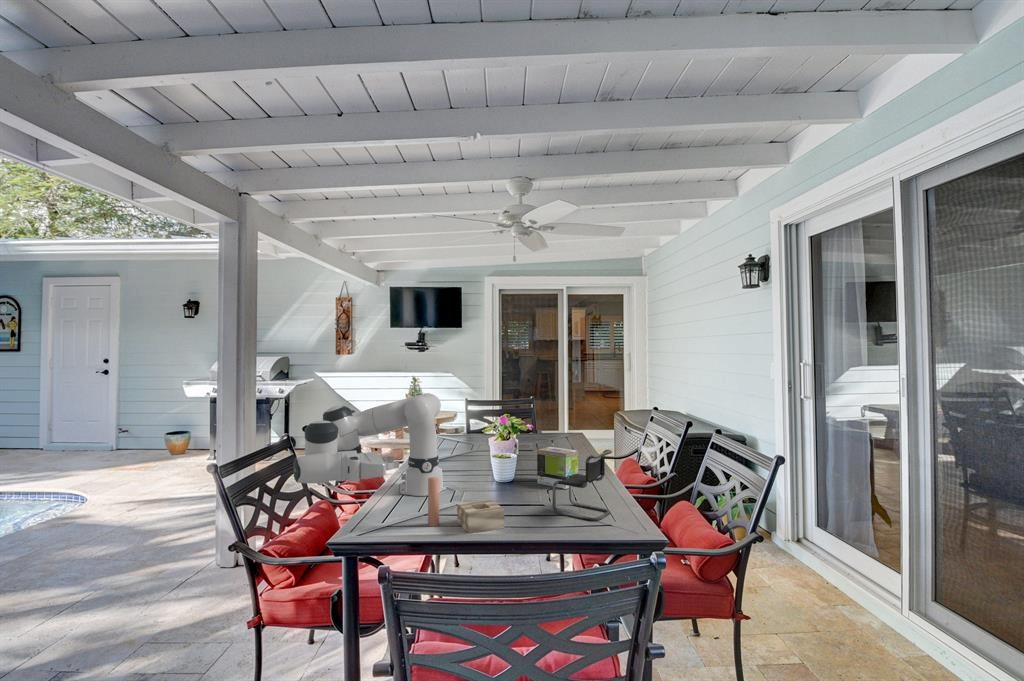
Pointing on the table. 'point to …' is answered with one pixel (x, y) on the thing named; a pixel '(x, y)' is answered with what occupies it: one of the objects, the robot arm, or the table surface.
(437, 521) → the dowel
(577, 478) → the chair
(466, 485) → the table surface
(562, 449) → the tea box
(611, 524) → the table surface
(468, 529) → the socket block
